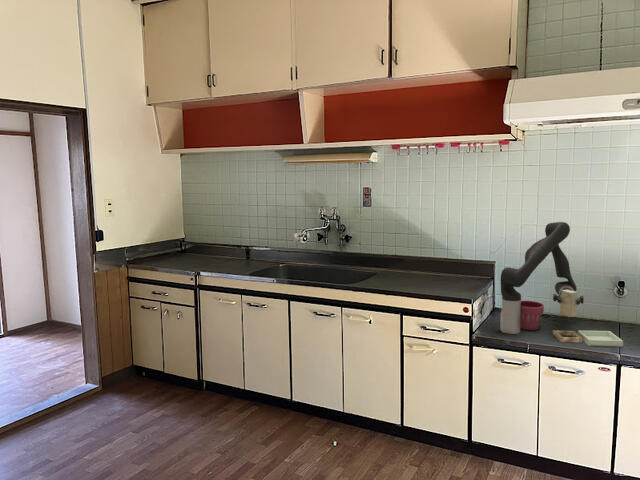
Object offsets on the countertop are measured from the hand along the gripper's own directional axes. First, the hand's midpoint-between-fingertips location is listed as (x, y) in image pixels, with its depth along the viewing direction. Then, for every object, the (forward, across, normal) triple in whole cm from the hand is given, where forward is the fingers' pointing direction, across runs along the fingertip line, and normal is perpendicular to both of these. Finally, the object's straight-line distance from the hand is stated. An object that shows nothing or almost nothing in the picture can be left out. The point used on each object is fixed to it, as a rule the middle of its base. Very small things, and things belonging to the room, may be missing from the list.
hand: (569, 302), depth 252 cm
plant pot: (-15, -18, +19) cm, 30 cm away
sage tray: (-2, +14, +19) cm, 24 cm away
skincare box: (-2, 0, +7) cm, 8 cm away
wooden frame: (-2, 0, +19) cm, 19 cm away
